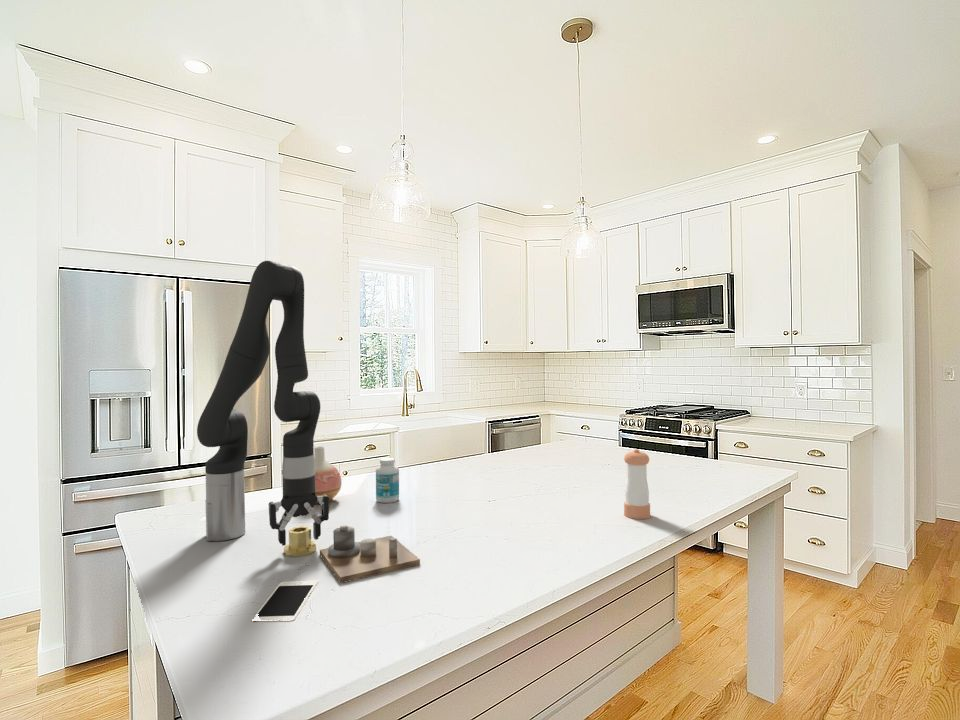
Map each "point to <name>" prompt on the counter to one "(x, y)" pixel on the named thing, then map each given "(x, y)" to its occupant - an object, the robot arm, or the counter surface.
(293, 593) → the cell phone
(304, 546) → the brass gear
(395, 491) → the pill bottle
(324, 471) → the vase
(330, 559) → the board
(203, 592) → the counter surface
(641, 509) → the salt shaker
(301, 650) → the counter surface
